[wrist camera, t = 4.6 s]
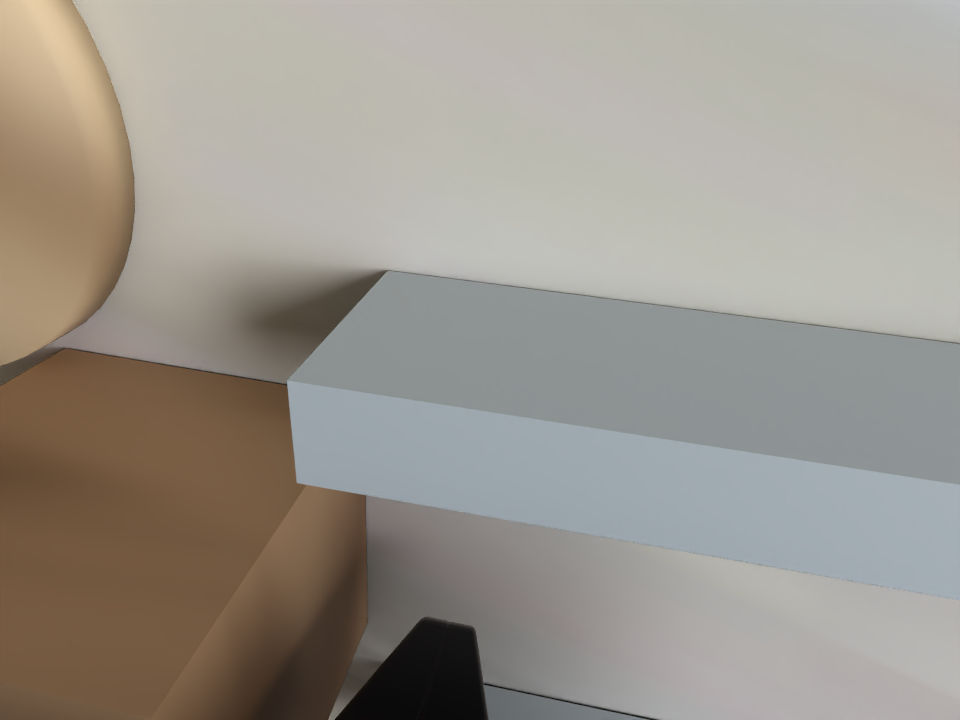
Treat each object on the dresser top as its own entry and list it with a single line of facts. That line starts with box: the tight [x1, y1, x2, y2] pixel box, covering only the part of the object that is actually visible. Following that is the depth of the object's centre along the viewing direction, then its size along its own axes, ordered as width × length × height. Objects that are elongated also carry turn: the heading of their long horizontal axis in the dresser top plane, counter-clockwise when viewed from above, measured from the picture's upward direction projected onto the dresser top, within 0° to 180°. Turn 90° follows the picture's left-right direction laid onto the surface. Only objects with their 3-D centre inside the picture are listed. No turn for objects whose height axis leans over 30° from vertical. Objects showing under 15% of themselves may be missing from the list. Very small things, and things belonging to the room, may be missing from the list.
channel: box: [287, 271, 960, 720], centre depth 8 cm, size 9×12×3 cm
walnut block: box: [0, 349, 368, 720], centre depth 9 cm, size 5×5×5 cm
